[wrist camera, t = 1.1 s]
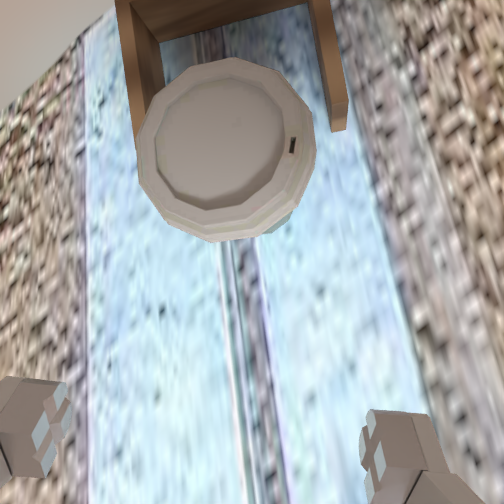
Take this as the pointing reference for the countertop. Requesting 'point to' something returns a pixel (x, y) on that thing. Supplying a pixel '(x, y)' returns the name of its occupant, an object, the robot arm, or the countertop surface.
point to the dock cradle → (207, 17)
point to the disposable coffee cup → (226, 150)
